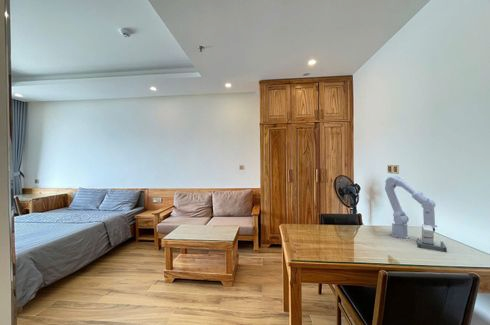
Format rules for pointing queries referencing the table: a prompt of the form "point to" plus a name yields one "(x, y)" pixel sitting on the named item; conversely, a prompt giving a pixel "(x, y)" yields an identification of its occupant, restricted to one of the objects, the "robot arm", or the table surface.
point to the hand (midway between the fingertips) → (429, 238)
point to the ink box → (427, 235)
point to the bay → (432, 246)
